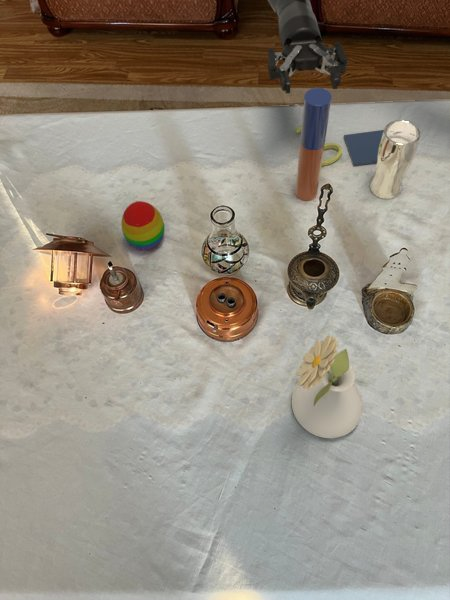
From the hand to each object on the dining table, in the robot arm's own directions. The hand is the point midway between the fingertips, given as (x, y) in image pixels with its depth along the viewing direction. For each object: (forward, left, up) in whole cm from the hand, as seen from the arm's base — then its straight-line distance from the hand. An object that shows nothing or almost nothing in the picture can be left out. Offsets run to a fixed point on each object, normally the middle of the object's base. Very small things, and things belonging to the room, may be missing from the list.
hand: (312, 87), depth 94 cm
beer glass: (-16, +7, -22) cm, 28 cm away
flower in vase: (+7, +52, -22) cm, 57 cm away
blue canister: (0, +5, -8) cm, 9 cm away
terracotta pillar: (0, +5, -22) cm, 23 cm away
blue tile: (-16, -5, -22) cm, 27 cm away
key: (-5, -7, -22) cm, 24 cm away
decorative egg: (+34, +12, -22) cm, 43 cm away
